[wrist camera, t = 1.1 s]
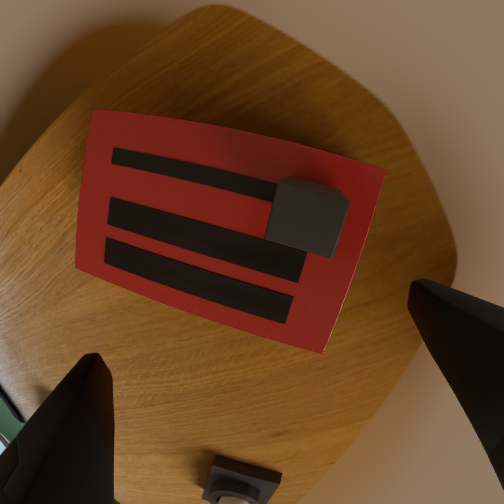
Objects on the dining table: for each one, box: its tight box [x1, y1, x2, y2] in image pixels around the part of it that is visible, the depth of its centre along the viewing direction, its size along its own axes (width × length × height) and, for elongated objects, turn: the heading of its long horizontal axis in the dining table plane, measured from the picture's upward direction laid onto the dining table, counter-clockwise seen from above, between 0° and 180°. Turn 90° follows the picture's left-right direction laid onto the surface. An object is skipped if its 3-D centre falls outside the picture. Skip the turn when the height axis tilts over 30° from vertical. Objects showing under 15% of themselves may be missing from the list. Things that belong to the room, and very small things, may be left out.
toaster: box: [75, 109, 386, 354], centre depth 20 cm, size 16×10×8 cm, turn 77°
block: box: [202, 455, 282, 504], centre depth 31 cm, size 8×10×4 cm
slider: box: [264, 176, 350, 258], centre depth 12 cm, size 2×2×4 cm
